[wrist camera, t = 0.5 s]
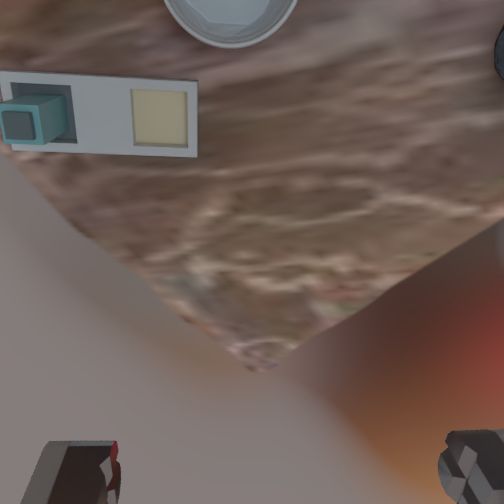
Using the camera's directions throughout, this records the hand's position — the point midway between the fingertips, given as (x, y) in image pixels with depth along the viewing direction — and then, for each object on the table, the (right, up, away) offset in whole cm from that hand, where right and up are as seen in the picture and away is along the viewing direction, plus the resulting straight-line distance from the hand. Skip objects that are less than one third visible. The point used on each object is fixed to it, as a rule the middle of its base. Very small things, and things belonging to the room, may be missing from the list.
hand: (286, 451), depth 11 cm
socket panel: (-17, +20, +37) cm, 46 cm away
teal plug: (-23, +20, +36) cm, 48 cm away
